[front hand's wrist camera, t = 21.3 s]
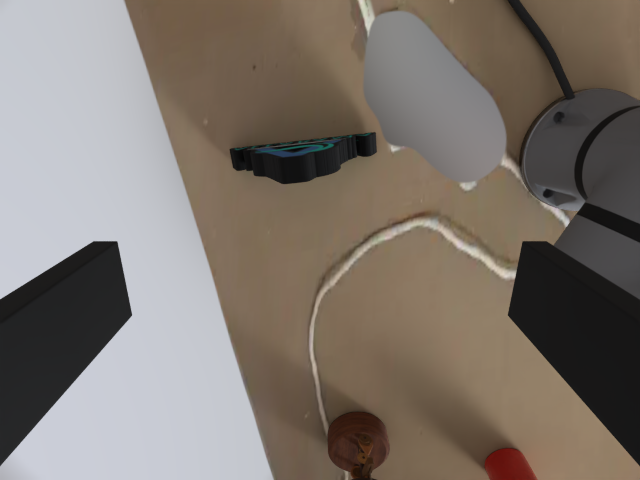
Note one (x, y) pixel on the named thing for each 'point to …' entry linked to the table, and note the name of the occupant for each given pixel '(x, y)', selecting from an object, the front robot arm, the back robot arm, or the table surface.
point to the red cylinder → (508, 466)
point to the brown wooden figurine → (358, 444)
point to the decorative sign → (302, 157)
